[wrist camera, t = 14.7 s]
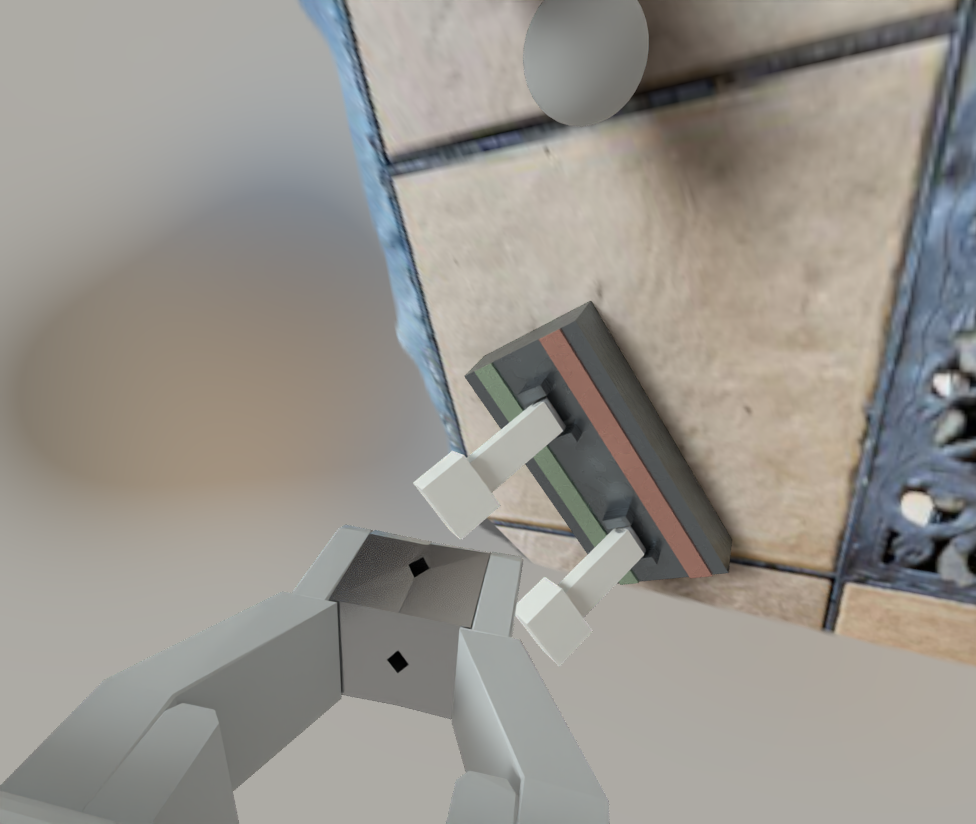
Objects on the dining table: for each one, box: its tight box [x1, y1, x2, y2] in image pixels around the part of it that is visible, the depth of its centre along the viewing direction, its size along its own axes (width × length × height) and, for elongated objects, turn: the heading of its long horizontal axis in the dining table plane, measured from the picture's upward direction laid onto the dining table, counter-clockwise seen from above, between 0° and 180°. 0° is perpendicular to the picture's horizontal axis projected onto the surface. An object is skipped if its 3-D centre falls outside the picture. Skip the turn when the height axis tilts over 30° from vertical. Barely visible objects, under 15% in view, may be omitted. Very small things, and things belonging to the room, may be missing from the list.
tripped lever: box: [413, 396, 566, 540], centre depth 41 cm, size 3×5×13 cm
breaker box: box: [465, 301, 732, 585], centre depth 46 cm, size 12×26×5 cm, turn 39°
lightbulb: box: [523, 0, 649, 127], centre depth 27 cm, size 6×6×11 cm
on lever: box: [515, 525, 646, 667], centre depth 44 cm, size 3×5×13 cm
